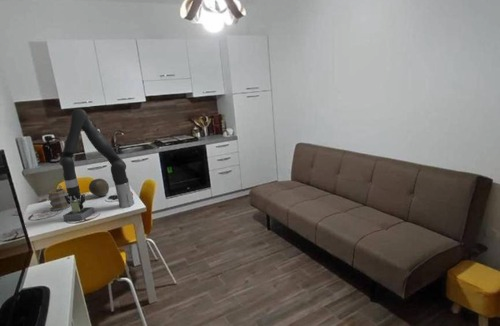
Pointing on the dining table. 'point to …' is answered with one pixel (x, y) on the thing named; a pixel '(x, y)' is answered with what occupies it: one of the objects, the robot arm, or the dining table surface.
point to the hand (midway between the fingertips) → (77, 209)
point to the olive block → (75, 206)
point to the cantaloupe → (99, 187)
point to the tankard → (58, 199)
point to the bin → (79, 214)
